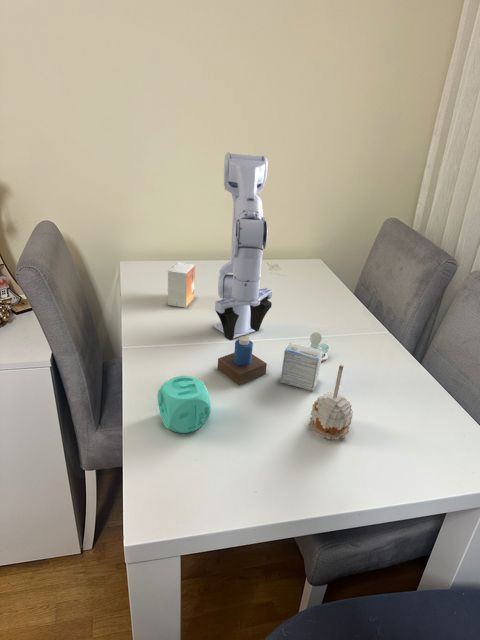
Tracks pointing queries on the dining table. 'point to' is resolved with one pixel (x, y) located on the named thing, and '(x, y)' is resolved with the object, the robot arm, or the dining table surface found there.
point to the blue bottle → (243, 351)
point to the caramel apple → (331, 413)
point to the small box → (181, 284)
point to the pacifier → (315, 342)
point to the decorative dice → (184, 404)
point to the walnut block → (241, 369)
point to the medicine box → (301, 366)
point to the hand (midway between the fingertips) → (241, 333)
